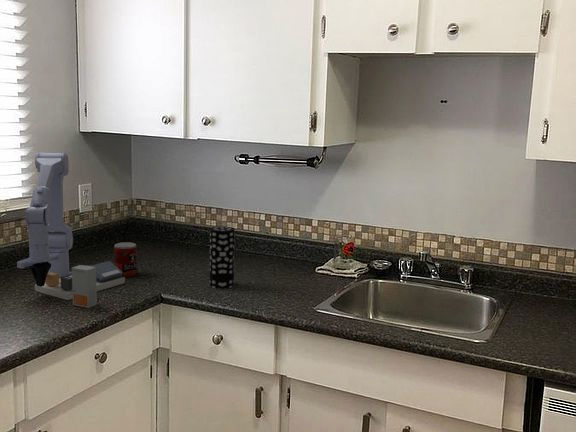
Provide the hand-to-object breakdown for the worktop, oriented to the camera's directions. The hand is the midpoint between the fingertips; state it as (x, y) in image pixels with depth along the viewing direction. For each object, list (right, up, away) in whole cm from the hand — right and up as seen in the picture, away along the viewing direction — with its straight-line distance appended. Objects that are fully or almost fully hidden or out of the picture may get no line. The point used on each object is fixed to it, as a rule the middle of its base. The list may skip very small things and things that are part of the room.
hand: (40, 285), depth 197 cm
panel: (+10, -2, +10) cm, 14 cm away
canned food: (+20, +1, +27) cm, 34 cm away
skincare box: (+17, -5, -8) cm, 19 cm away
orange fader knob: (+2, 0, +4) cm, 5 cm away
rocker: (+17, +3, +14) cm, 22 cm away
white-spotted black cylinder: (+56, -2, +17) cm, 59 cm away
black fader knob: (+9, -1, 0) cm, 9 cm away
